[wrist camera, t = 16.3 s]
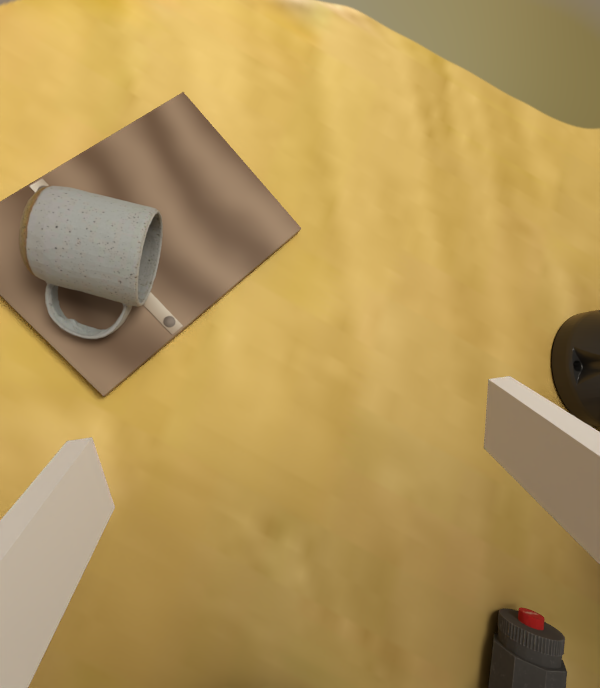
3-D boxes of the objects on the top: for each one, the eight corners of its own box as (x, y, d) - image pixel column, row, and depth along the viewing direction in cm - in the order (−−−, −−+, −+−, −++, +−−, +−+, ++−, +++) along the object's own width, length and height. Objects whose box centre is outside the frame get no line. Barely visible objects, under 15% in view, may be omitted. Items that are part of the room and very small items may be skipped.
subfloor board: (182, 101, 38) (183, 90, 36) (297, 233, 40) (301, 227, 38) (-51, 242, 30) (-61, 235, 29) (106, 396, 32) (102, 396, 31)
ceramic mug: (64, 206, 32) (28, 154, 24) (166, 233, 34) (160, 192, 27) (31, 329, 30) (-18, 312, 23) (139, 349, 32) (126, 339, 25)
